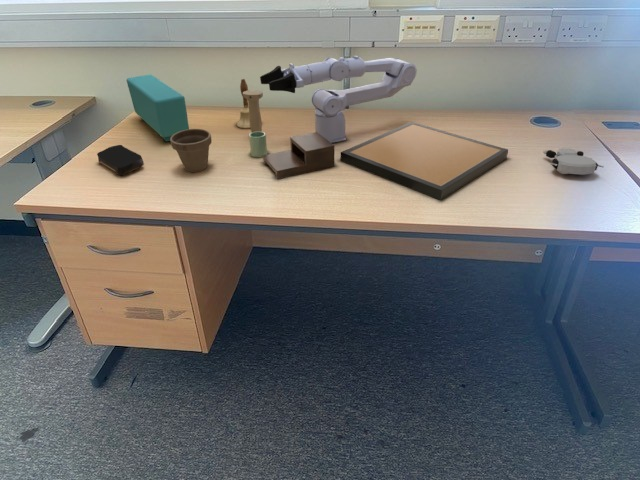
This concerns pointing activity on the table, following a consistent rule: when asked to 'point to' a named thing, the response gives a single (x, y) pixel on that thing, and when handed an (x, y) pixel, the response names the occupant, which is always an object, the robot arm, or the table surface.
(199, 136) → the flower pot
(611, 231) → the table surface
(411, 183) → the cork board
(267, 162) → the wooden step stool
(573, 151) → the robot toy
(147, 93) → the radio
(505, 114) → the table surface
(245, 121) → the hand bell
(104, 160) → the black sponge
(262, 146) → the pencil cup
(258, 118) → the handle
